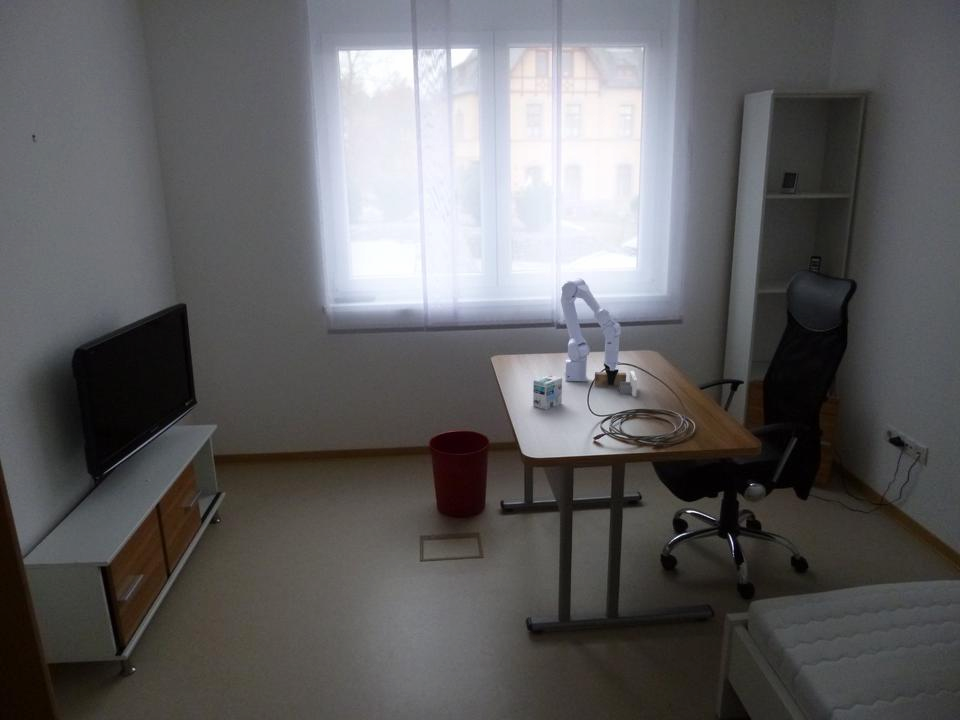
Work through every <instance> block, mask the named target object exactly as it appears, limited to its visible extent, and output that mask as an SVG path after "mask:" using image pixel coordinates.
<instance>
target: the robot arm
mask: <svg viewBox="0 0 960 720" xmlns="http://www.w3.org/2000/svg"><path fill="white" fill-rule="evenodd" d="M561 292H562V293H561V297H560V303H561V308H562V312H563V316H564V319H565V320H564V321H565V325H566V329H567V333H568V336H569V341H568V344H567V348H568V349H567V356H568V359H565V371H564V377H565V381H566V382H588V375H587V366H588V365H587V362H588V355H590V353H591V349H590V346H589V345H588V343H587V340H586V339H585V338H584V337H583V335H582V331H581V327H580V323H579V322H580V321H579V319H578V314H577V313H578V312H577V310H576V305H575V301H576V300H577V299H582V300H583V301H584V303H586V305H587V306H588V308H590V310H592V312H593V313H594V314H593V315H594V316H593V317H594V319H595V320H596V322H597V323H598V325H599V326H600V328H601V329H602V330H603V331H602V333H603V335H604V338H605V339H604V340H605V341H604V342H605V344H604V358H603V359H604V361H603V366H604V370H605V371H604V372H606V374H607V379H608V385H614V381H615V377H616V375H617V373H619V369H616V368H617V366H618V365H619V364H621V363H622V362H621V360H619V349H620V347H619V346H620V335H621V334H622V330H623V328H622V326H621V324H620V323H619V322H617V321H615V320H614V319H613V318H612V316H611V315H610V311H609V310H606V308H602V307H601V306H600V304H599V303H598V301H597V300H596V298H595V297H594V295H593V294H592V292H591V290H590V288H589V285H588V284H587V283H586V280H584V279H582V278H576V279H574V280H573V279H572V280H568V281H566V282H564V284H563V285H562V287H561Z"/></svg>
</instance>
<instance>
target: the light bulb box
mask: <svg viewBox="0 0 960 720" xmlns="http://www.w3.org/2000/svg"><path fill="white" fill-rule="evenodd" d="M562 394H563V377H560V376H555V375H552V374H547V375H546V376H545V375H544V376H542V377H540V378H537V379H536V378H535V379H534V380H533V394H532V395H533V397H532V400H533V401H532V405H533V407H536V408H539V409H542V410H546V411H547V410H549V409H551V408H553V407H556V406H558V405H561V404H562V402H563V401H562V399H563V398H562V396H563V395H562Z"/></svg>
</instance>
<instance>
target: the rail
mask: <svg viewBox="0 0 960 720" xmlns="http://www.w3.org/2000/svg"><path fill="white" fill-rule="evenodd" d="M620 382H627V373H626V372H618V373H617V375H616V377H615V381H614V385H608V379H607V374H606V371H604V372H603V371H594V387H614V388H615V387H616V388H619V385H620Z"/></svg>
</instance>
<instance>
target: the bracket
mask: <svg viewBox="0 0 960 720" xmlns="http://www.w3.org/2000/svg"><path fill="white" fill-rule="evenodd" d="M618 388H619V393H620V394H621V395H622V394H623V395H625V394H626V395H627V394H628V395H631V396H632V397H637V392H638V391H637V388H638V379H637V376H636V374H635V370H630V371H629V381H626V382H620V385H619V387H618Z"/></svg>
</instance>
